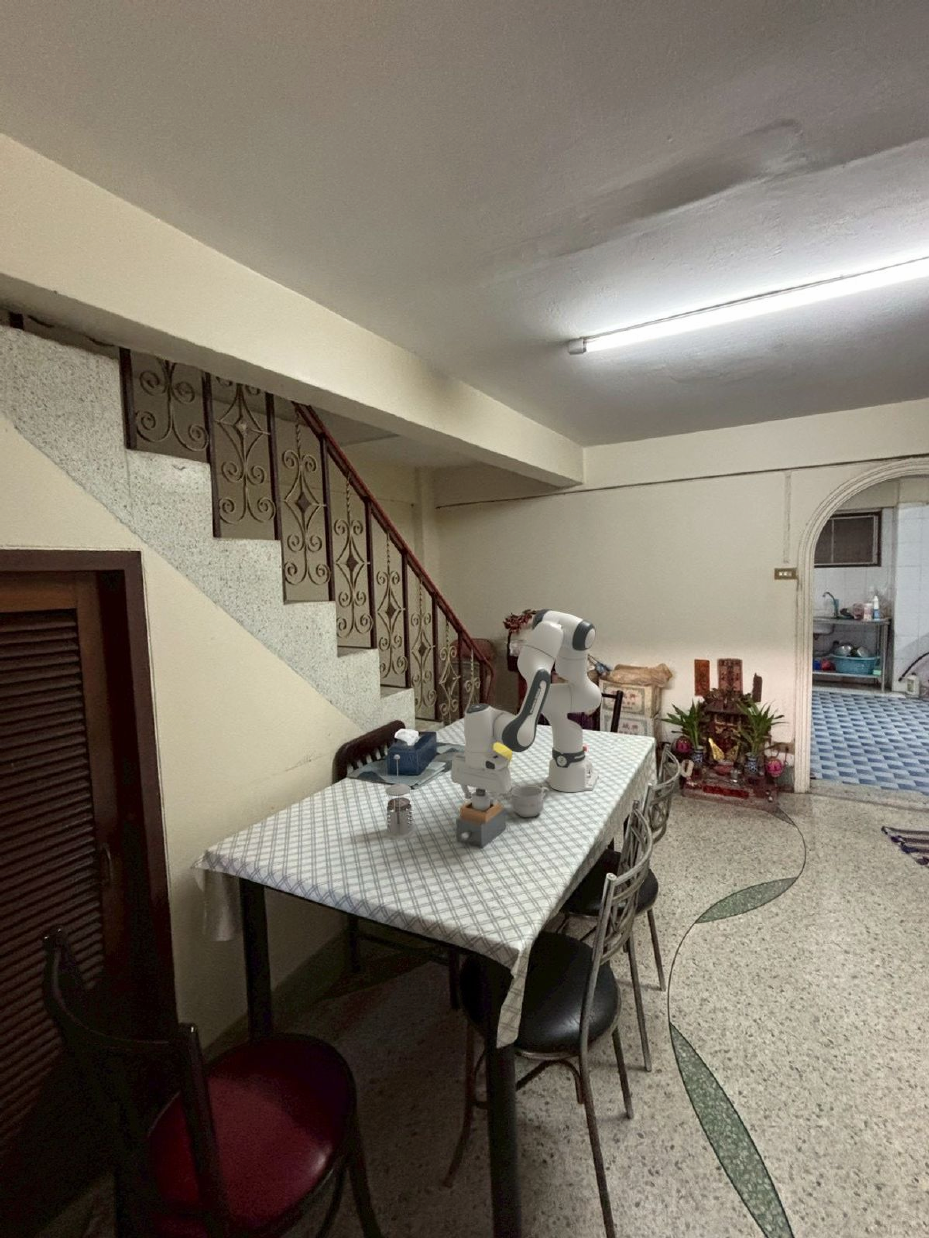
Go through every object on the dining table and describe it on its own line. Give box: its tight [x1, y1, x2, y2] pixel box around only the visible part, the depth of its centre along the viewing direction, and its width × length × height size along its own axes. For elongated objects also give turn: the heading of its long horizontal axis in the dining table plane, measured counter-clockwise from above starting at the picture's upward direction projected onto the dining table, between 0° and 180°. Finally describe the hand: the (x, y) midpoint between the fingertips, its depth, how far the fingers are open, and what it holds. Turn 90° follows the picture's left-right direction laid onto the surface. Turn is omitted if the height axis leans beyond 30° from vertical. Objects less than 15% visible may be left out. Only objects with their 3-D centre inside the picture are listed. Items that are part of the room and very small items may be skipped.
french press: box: [384, 754, 416, 840], centre depth 169 cm, size 10×12×25 cm
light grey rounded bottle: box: [471, 788, 491, 812], centre depth 166 cm, size 6×6×8 cm
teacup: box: [510, 785, 550, 818], centre depth 182 cm, size 14×11×8 cm
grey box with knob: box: [455, 799, 507, 849], centre depth 166 cm, size 17×9×10 cm, turn 146°
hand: (480, 801), depth 166 cm, fingers open, 8 cm apart
